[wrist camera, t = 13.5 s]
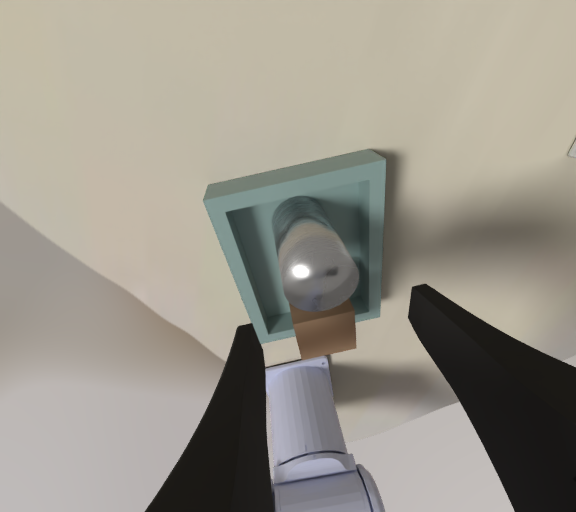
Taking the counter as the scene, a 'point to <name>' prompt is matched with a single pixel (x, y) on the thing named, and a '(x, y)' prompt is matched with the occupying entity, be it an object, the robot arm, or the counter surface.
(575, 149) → the supplement box
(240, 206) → the parts tray
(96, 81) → the counter surface
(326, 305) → the grey peg
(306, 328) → the walnut block
